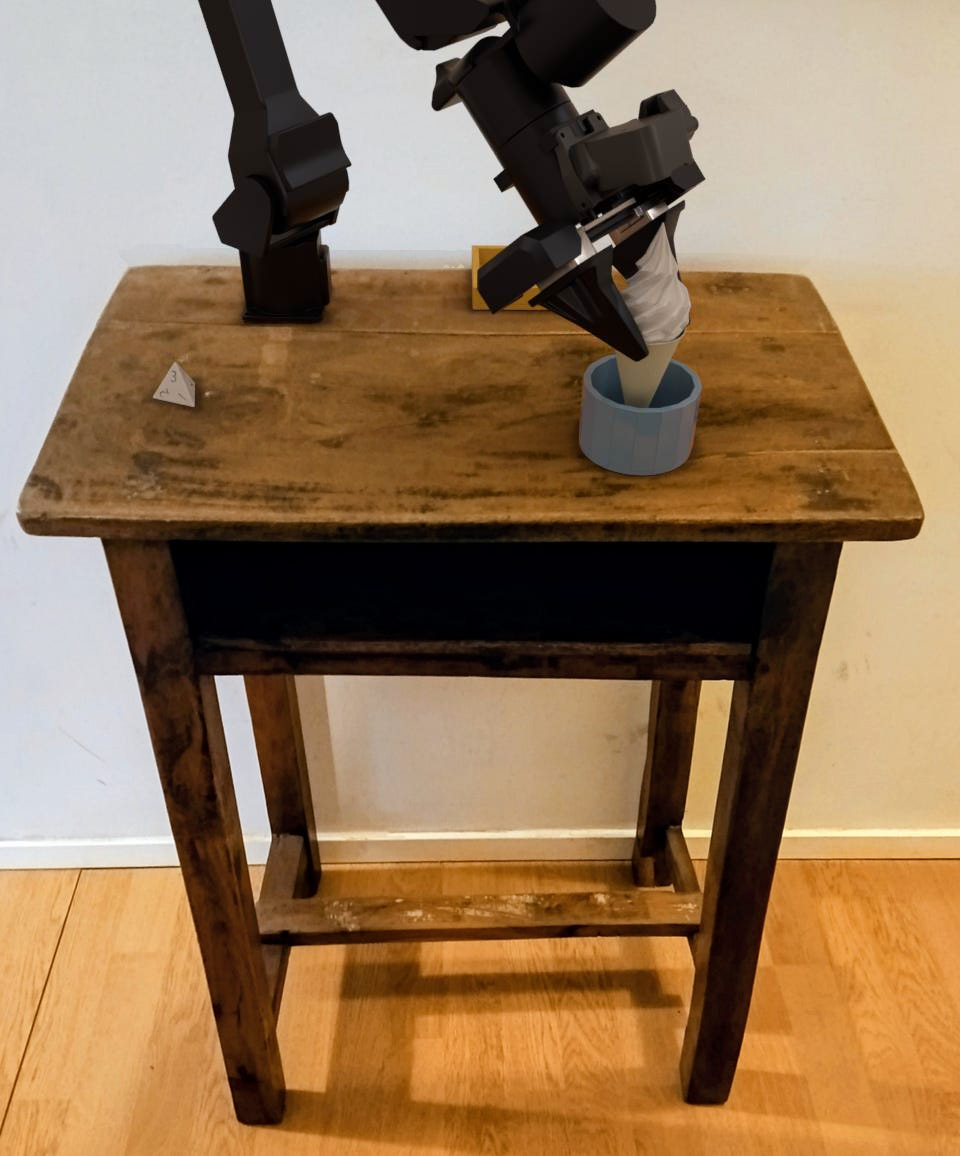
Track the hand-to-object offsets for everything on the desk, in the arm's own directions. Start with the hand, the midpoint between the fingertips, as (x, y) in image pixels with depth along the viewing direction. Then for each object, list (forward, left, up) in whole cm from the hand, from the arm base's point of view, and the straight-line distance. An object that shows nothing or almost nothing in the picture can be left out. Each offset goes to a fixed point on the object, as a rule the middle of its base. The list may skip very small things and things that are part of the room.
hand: (664, 342), depth 74 cm
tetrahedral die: (-33, +7, -9) cm, 35 cm away
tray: (-7, +25, -8) cm, 27 cm away
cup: (-1, +1, -8) cm, 8 cm away
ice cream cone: (-1, +1, -7) cm, 8 cm away
